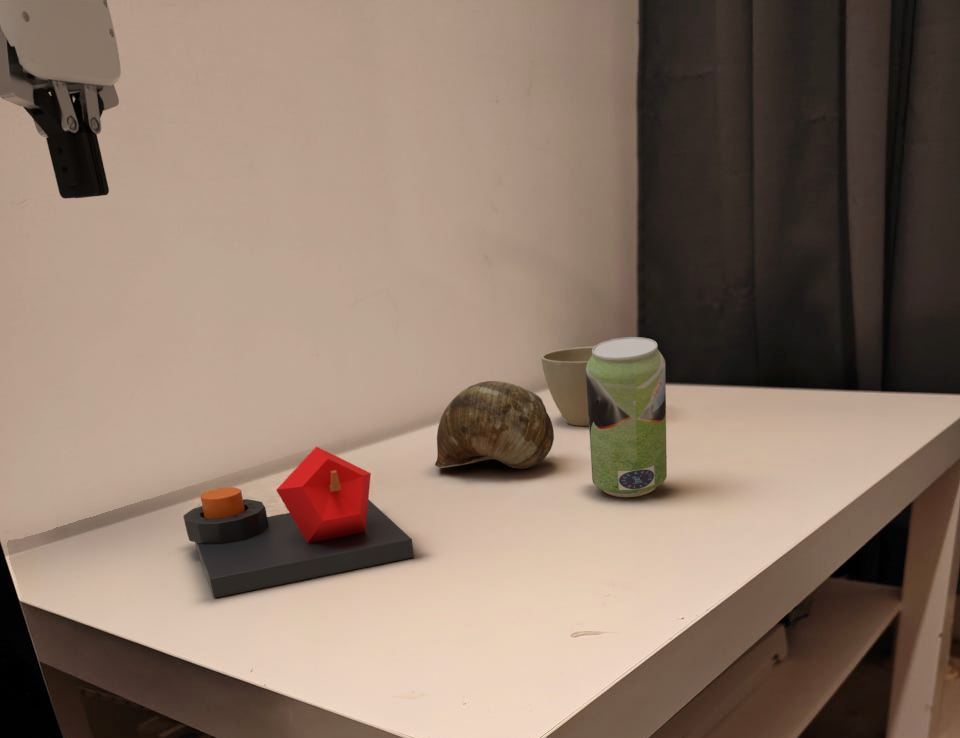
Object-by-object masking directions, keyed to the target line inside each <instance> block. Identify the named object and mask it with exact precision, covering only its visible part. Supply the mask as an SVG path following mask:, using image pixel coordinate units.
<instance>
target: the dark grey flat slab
mask: <svg viewBox="0 0 960 738" xmlns="http://www.w3.org/2000/svg"><path fill="white" fill-rule="evenodd" d="M243 502H244V508H245V512H243V513H241V514H238V515H235V516H230V517H225V518H212V519H208V518H205V517H204V512H203V508H202V505H200V506H197V507H194V508H192V509H191V510H189V511H187V512H186V513H185V514H184V515H183V522H184V526H185V531H186V534H187V537H188V540H189V541H190V542H193V543H194V546H195V548H196V552H197V554H198V558H199V560H200V562H201V566H202V569H203V571H204V573H205V577H206V579H207V580H206V581H207V582H208V585H209V588H210V592H211V594H212V597H213V598H214V599H216V598H221V597H227V596H231V595H235V594H240V593H245V592H250V591H256V590H260V589H261V590H262V589H266V588H269V587H275V586H280V585H281V586H282V585H284V584H290V583H296V582H300V581H305V580H309V579H314V578H320V577H324V576H330V575H334V574H338V573H343V572H344V573H345V572H348V571H353V570H358V569H359V570H360V569H364V568H368V567H373V566H379V565H383V564H389V563H392V562H398V561H402V560H409V559H413V558H414V557H415V555H414V554H415V553H414V546H413V538H411V537H410V536H409V535H408V533H406V532H405V531H404V530H403V529H401V528H400V527H399V526H398V524H396V523H395V522H394V521H393V520H392V519H391V518H390V517H389V516H387V515H386V514H385V513H384V512H383V511H382V510H381V509H380V508H379V507H378V506H377V505H375V504H374V502H372V500H370V499H369V498H368V509H367V520H366V531H365V532H362V533H357V534H352V535H347V536H342V537H337V538H332V539H327V540H321V541H316V542H311V543H307V542H306V540H305V538H304V536H303V535H302V533H301V531H300V530H299V528H298V526H297V525H296V523H295V521H294V519H293V518H292V516H291V514H290V513H289V512H288V513H282V514H275V515H270V516H269V515H267V509H266V506H265V504H264V503H263V501H260V500H254V499H249V498H243Z"/></svg>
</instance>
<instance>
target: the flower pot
mask: <svg viewBox="0 0 960 738" xmlns="http://www.w3.org/2000/svg"><path fill="white" fill-rule="evenodd" d="M594 346H595V345H594ZM594 346H579V347H569V348H568V347H567V348H561V349H557V350H552V351H548V352H546V353H543V354H542V355H540V356H541V357H540V359H541V366H542V370H543V374H544V378H545V381H546V385H547V388H548V390H549V393H550V395H551V398H552V400H553V402H554V403H555V406H556V407H557V409H558V411H559V413H560V414H561V416H562V418H563V419H564V420H565V422H566V423H567V424H568V425H573V426H578V427H579V426H580V427H581V426H582V427H589V416H588V399H587V383H586V366H587V363H588V361H589V360H590V358H591V356H592V354H593V353H592V349H593V348H594Z"/></svg>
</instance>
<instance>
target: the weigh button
mask: <svg viewBox="0 0 960 738" xmlns="http://www.w3.org/2000/svg"><path fill="white" fill-rule="evenodd" d="M199 499H200V502H201V503H200V504H201V506H202V508H203V512H204V517H205V518H208V519H212V518H225V517H230V516H235V515H238V514H241V513H243V512H245V508H244V502H243V499H244V497H243V492H242V489H241V488H239V487H233V486H232V487H230V486H229V487H218V488H214V489H210V490H207V491H204V492H203V493H201V494H200V495H199Z"/></svg>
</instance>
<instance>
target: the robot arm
mask: <svg viewBox="0 0 960 738" xmlns="http://www.w3.org/2000/svg"><path fill="white" fill-rule="evenodd" d="M120 77H121V61H120V54H119V49H118V43H117V38H116V33H115V29H114V24H113V20H112V15H111V12H110V7H109V4H108V0H0V98H1V99H2V100H5V101H7V102H9V103H12V104H14V105H17V106H18V107H22V108H23V109H24V110H25V111H26V112H27V113H28V115H29V116H30V117H31V118H32V119H33V122H34V123H33V124H34V125H35V129H36V131H37V133H38V134H39V135H40V136H41V137H43V138H45V139H46V144H47V147H48V152H49V156H50V161H51V165H52V169H53V173H54V176H55V181H56V185H57V189H58V192H59V196H60V197H61V198H62V199H83V198H84V199H85V198H94V197H102V196H103V197H104V196H108V195H109V192H110V187H109V184H108V180H107V174H106V170H105V165H104V162H103V161H104V160H103V156H102V154H101V153H102V151H101V148H100V143H99V140H98V135H99V134H100V133H101V132H102V121H101V117H102V115H103V113H104V111H107V110H110V109H113V108H115V107H118V106H119V104H120V99H119V96H118V92H117V90H116V87H115V84H117V82H119V81H120Z"/></svg>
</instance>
